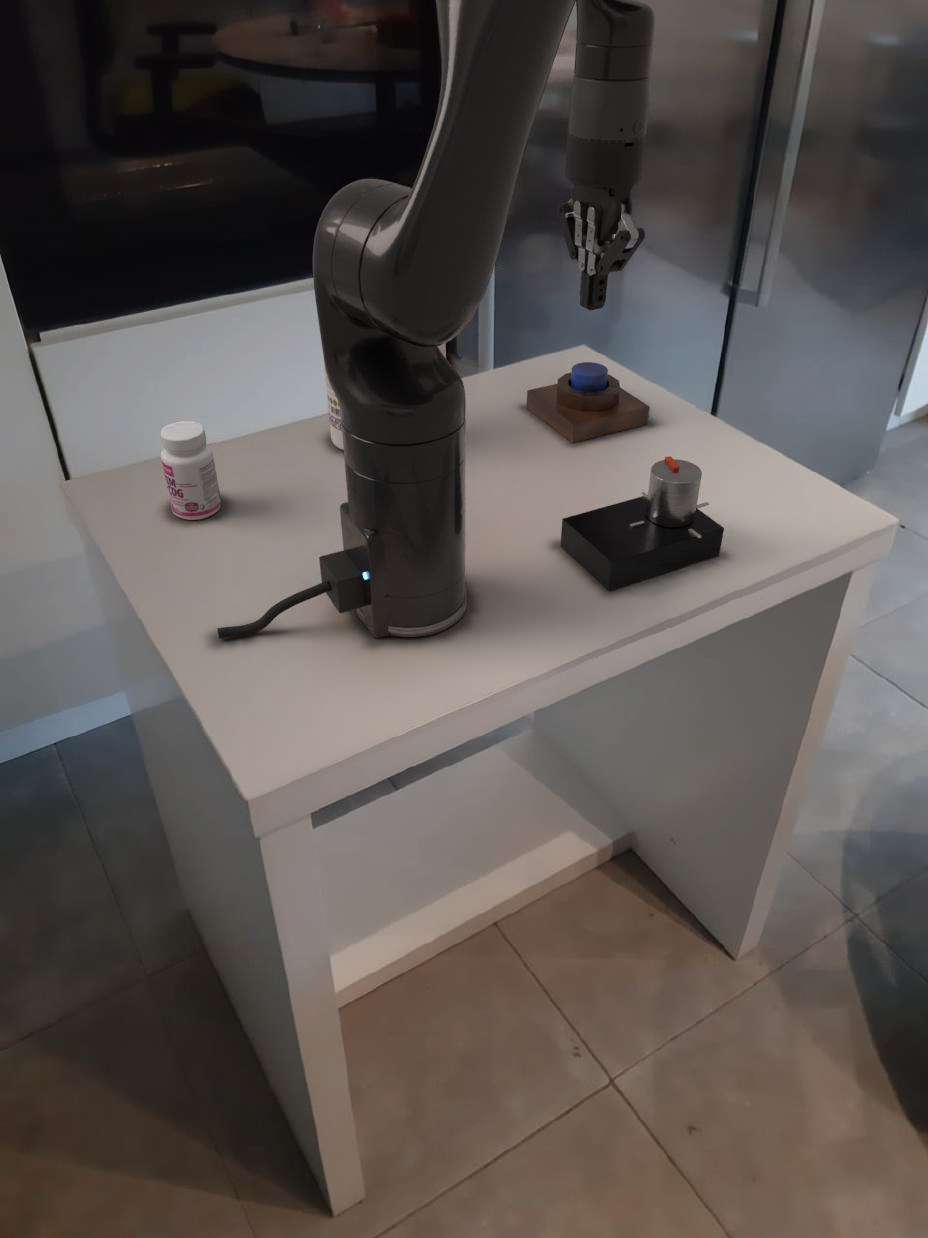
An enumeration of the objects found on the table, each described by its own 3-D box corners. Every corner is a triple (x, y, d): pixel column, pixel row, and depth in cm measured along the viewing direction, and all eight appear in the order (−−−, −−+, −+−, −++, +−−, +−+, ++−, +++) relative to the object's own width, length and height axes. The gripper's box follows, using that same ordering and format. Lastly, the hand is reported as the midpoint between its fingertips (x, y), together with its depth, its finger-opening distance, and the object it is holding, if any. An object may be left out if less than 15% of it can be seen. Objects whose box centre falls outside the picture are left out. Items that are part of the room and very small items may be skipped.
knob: (702, 524, 87) (710, 477, 85) (655, 530, 87) (662, 482, 84) (683, 500, 91) (691, 453, 88) (638, 505, 90) (644, 458, 87)
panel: (610, 593, 84) (614, 562, 82) (558, 544, 90) (560, 515, 89) (732, 554, 89) (738, 524, 87) (675, 510, 95) (679, 482, 93)
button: (583, 396, 108) (584, 378, 106) (563, 383, 111) (564, 365, 109) (613, 389, 109) (615, 372, 108) (593, 376, 112) (595, 359, 111)
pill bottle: (162, 516, 94) (145, 437, 89) (188, 493, 98) (173, 415, 93) (206, 524, 93) (191, 444, 88) (230, 500, 97) (217, 422, 92)
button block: (572, 443, 107) (574, 409, 104) (526, 407, 114) (527, 375, 111) (647, 424, 110) (651, 391, 108) (598, 391, 117) (601, 359, 115)
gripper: (538, 119, 97) (529, 293, 108) (613, 145, 88) (596, 333, 98) (601, 113, 100) (587, 284, 110) (681, 137, 91) (657, 321, 101)
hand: (591, 307), depth 104 cm, fingers closed
